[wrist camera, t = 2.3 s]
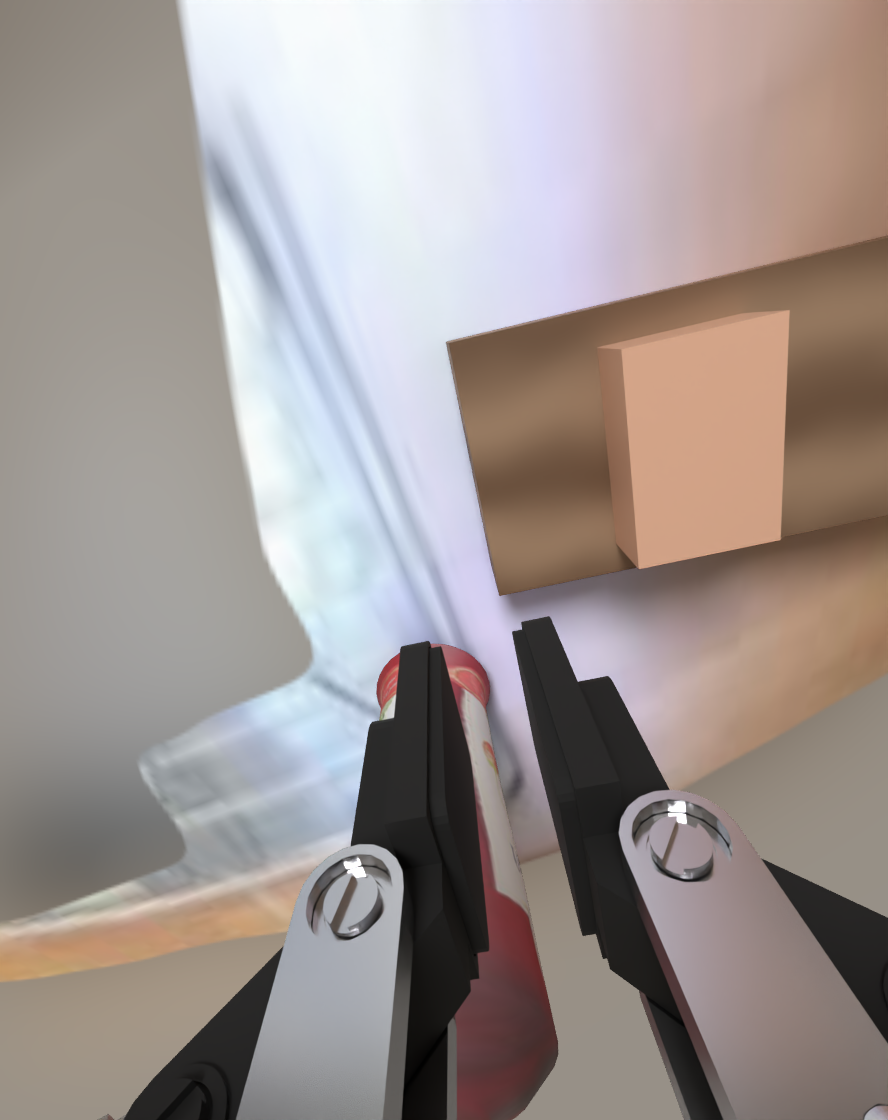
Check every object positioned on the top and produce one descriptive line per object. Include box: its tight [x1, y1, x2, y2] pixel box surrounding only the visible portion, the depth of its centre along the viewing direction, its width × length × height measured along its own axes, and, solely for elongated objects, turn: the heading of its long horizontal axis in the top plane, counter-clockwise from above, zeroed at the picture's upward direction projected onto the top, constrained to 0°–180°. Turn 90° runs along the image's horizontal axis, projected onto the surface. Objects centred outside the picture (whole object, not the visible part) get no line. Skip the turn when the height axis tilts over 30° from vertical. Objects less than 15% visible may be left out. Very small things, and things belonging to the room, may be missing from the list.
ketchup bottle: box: [377, 644, 558, 1120], centre depth 20 cm, size 7×7×28 cm
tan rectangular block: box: [597, 310, 790, 569], centre depth 22 cm, size 9×6×3 cm, turn 13°
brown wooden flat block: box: [446, 236, 888, 596], centre depth 25 cm, size 12×22×4 cm, turn 103°
